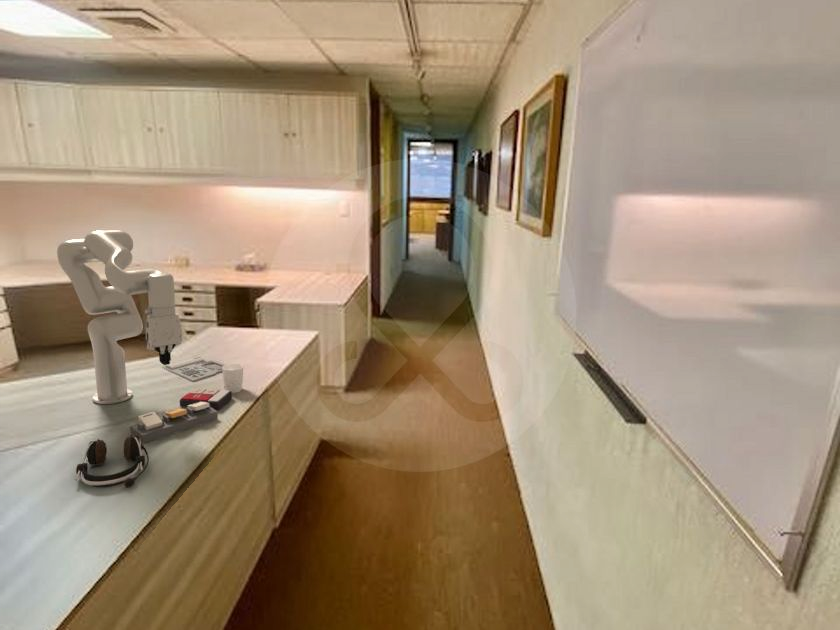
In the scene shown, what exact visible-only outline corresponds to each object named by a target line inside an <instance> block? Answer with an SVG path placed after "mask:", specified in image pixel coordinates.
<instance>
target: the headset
mask: <svg viewBox="0 0 840 630" xmlns="http://www.w3.org/2000/svg"><path fill="white" fill-rule="evenodd" d="M123 443H124V444H123V455H124V458H125V459H126V461H130V462H132V461H134V460H135V462H134V464H132V465H131V466H130V467H128V468H127V469H124V470H122V471H119V472H115V473H111V474H107V475H94V474H90V473H89V472H88V471H89V469H88V468H91V467H93V466H97V467H98V466H100V465H102V464H104V463H105V461H106V458H107V453H108V452H107V451H108V450H107V444H106V442H105V441H104V440H103V439H100V438H97V439H96V440H93V441H90V442H89V443H88V445H87V448H86V450H85V452H84V456H83V460H82V461H81V463H79V464H77V465H76V469H75V473H76V477H75V478H74V480H75V481H79V480H80V479H81V481H82V482H83V484H86V485H88V486H93V487H94V488H95V487H96V488H105V487H106V488H107V487H113V486H117V485H120V484H122V483H124V487H125V488H130V487H132V486H134V485H135V483H136V482H135V481H136V480H137V479H138V478H139V477H140V476H141V475H142V474H143V472H145V470H146V469H147V468H148V466H149V459H150V457H149V453H148V450H147V448H146V447H145V445H143V444H142V443H141V439H140V437H139V436H133V435H132V434H130V435H129V436H127V437H125V440H124V442H123ZM142 451H144V452H145V455H143V453H142ZM146 458H147V460H146ZM86 459H87V462H88V463H87V462H85V461H86ZM143 467H144V468H143ZM139 470H140V473H139V474H138V475H136V474H137V473H138V471H139ZM135 475H136V476H135Z"/></svg>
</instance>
